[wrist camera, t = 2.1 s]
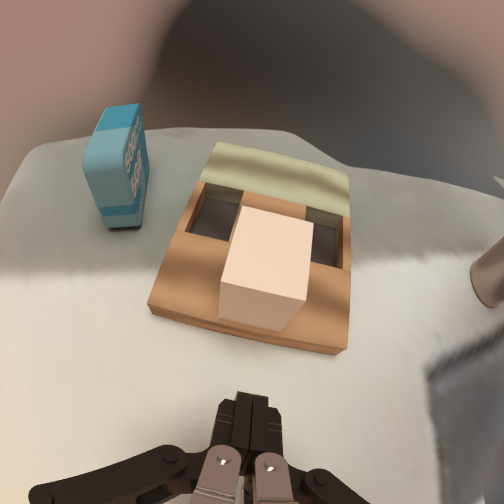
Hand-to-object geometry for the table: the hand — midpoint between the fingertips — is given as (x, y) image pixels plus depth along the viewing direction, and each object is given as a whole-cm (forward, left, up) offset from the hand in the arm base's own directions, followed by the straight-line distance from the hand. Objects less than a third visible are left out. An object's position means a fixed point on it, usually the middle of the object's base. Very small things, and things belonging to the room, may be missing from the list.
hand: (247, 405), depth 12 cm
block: (-9, -7, -11) cm, 16 cm away
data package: (-5, -29, -14) cm, 33 cm away
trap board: (-16, -13, -14) cm, 25 cm away
